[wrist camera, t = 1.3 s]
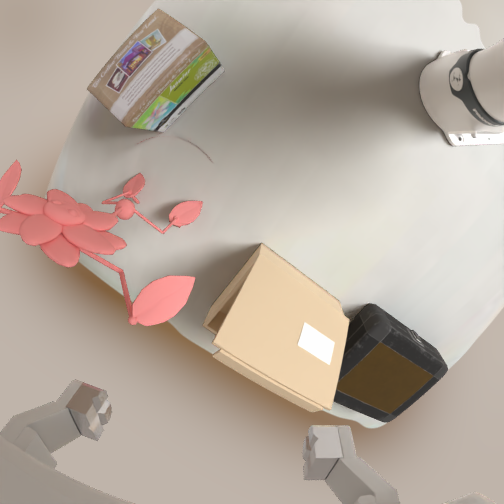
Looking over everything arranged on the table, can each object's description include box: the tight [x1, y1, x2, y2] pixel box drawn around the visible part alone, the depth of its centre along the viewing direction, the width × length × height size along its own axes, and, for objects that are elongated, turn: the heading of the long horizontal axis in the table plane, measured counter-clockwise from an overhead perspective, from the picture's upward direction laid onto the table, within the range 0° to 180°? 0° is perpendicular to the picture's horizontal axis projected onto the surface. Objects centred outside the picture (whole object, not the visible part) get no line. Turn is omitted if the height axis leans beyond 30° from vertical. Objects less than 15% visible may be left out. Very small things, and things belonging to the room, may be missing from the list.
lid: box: [212, 254, 349, 412], centre depth 39 cm, size 18×17×2 cm
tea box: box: [87, 9, 224, 132], centre depth 36 cm, size 15×10×15 cm, turn 135°
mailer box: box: [203, 243, 344, 335], centre depth 51 cm, size 18×16×7 cm
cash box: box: [333, 304, 448, 422], centre depth 53 cm, size 25×20×8 cm
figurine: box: [0, 133, 210, 326], centre depth 32 cm, size 15×26×35 cm, turn 61°
